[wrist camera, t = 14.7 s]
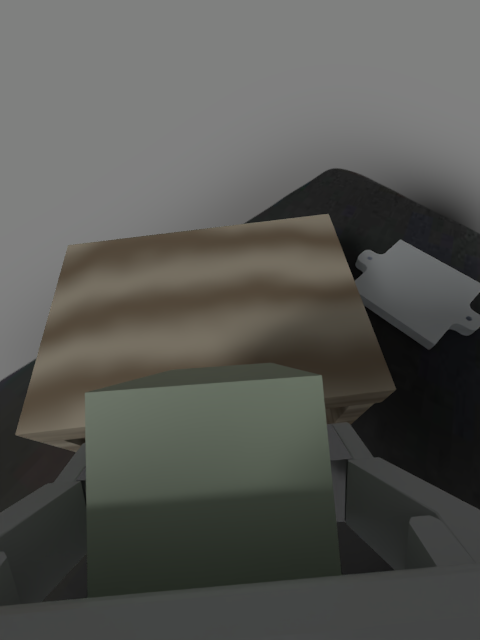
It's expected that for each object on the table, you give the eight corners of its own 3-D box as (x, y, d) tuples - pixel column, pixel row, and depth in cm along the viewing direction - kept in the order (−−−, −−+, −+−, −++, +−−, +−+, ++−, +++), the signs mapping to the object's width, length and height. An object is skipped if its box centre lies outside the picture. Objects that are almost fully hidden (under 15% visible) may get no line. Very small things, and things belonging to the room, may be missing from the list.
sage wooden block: (278, 453, 13) (344, 603, 5) (175, 461, 13) (88, 627, 5) (270, 362, 14) (321, 375, 6) (171, 370, 14) (84, 392, 6)
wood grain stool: (342, 435, 34) (396, 389, 20) (114, 462, 34) (15, 435, 20) (307, 304, 43) (328, 213, 30) (129, 326, 43) (68, 245, 30)
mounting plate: (331, 284, 46) (334, 276, 44) (382, 240, 50) (386, 231, 48) (446, 364, 38) (454, 358, 36) (494, 304, 42) (504, 296, 40)
